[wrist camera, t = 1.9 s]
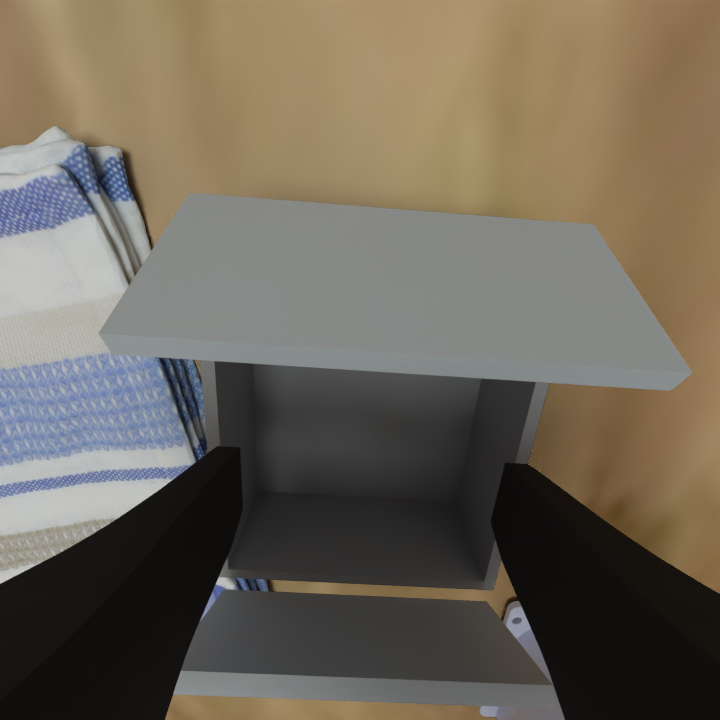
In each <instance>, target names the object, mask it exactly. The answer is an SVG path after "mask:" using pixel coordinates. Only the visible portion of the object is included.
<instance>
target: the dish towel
mask: <svg viewBox="0 0 720 720" xmlns="http://www.w3.org/2000/svg"><path fill="white" fill-rule="evenodd" d="M151 251H152V250H151V247H150V244H149V240H148V237H147V233H146V229H145V225H144V221H143V218H142V215H141V213H140V210H139V208H138V205H137V203H136V201H135V199H134V197H133V195H132V193H131V191H130V188H129V185H128V179H127V174H126V169H125V165H124V159H123V155H122V151H121V149H120V148H118V147H115V146H109V145H107V146H101V147H88V146H87V145H86V144H85V143H83V142H80V141H76V140H75V139H74V138H73V137H72V136H71V135H70V134H69V133H68V132H67V131H66V130H64V129H62V128H60V127H58V126H54V127H52V128H50V129H49V130H47V131H45V132H44V133H43V134H42V135H40V136H39V137H38V138H37V139H36V140H35V141H33V142H31V143H29V144H26V145H12V146H8V147H5V148H1V149H0V584H1V583H3V582H4V581H6V580H8V579H10V578H12V577H14V576H16V575H18V574H20V573H22V572H24V571H26V570H28V569H30V568H32V567H34V566H36V565H38V564H39V563H41V562H43V561H45V560H47V559H49V558H51V557H53V556H55V555H57V554H59V553H60V552H62V551H64V550H66V549H68V548H69V547H71V546H73V545H75V544H76V543H78V542H80V541H81V540H83V539H85V538H87V537H88V536H90V535H92V534H93V533H95V532H97V531H98V530H100V529H102V528H103V527H105V526H106V525H108V524H110V523H111V522H113V521H114V520H116V519H118V518H119V517H120V516H122V515H123V514H125V513H126V512H128V511H129V510H131V509H132V508H134V507H135V506H137V505H138V504H139V503H141V502H142V501H144V500H145V499H147V498H148V497H150V496H151V495H153V494H154V493H156V492H157V491H158V490H160V489H161V488H162V487H164V486H165V485H166V484H168V483H169V482H170V481H172V480H173V479H174V478H176V477H177V476H178V475H180V474H181V473H182V472H184V471H185V470H186V469H188V468H189V467H190V466H192V465H193V464H194V463H195V462H197V461H198V460H199V459H201V458H202V457H203V456H205V455H206V454H207V440H206V428H205V416H204V404H203V392H202V383H201V380H200V376H199V371H198V370H197V368H196V366H195V363H194V360H191V359H175V358H160V357H145V356H129V355H114V354H112V353H111V352H110V350H109V349H108V347H107V346H106V344H105V343H104V341H103V340H102V338H101V337H100V336H99V334H98V333H99V331H100V330H101V328H102V327H103V325H104V323H105V322H106V320H107V319H108V317H109V316H110V314H111V313H112V311H113V310H114V308H115V306H116V305H117V303H118V302H119V300H120V299H121V297H122V296H123V294H124V293H125V291H126V290H127V288H128V286H129V285H130V283H131V282H132V280H133V279H134V277H135V276H136V274H137V273H138V271H139V270H140V268H141V266H142V265H143V263H144V262H145V260H146V259H147V257H148V256H149V254H150V253H151ZM224 589H228V590H249V591H269V590H268V586H267V582H266V579H245V578H224V577H219V578H218V580H217V582H216V585H215V587H214V589H213V592H212V594H211V596H210V599H209V601H208V603H207V606H206V608H205V610H204V613H203V615H202V617H201V620H202V619H203V617H204V616H205V615H206V613H207V612H208V610H209V609H210V608H211V606H212V605H213V603H214V602H215V601H216V599H217V598H218V596H219V595H220V594H221V592H222V591H223V590H224ZM201 620H200V621H201ZM199 623H200V622H199Z"/></svg>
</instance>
